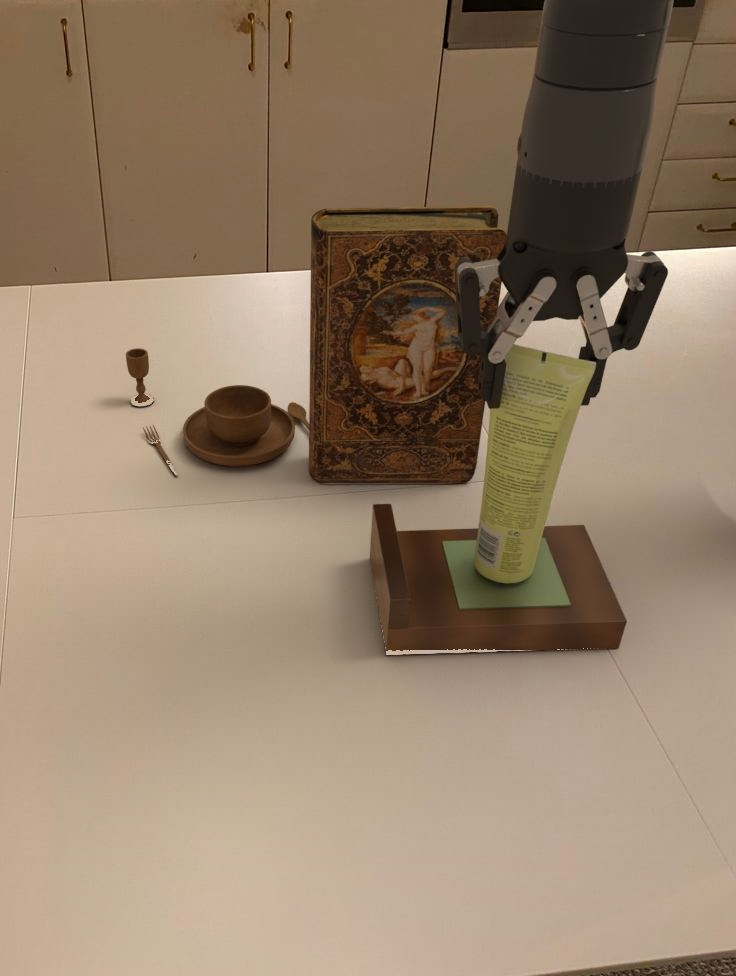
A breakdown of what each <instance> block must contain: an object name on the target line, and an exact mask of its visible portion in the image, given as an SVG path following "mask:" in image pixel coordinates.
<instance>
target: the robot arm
mask: <svg viewBox="0 0 736 976" xmlns="http://www.w3.org/2000/svg"><path fill="white" fill-rule="evenodd" d="M674 2H675V1H674V0H544V2H543V7H542V12H541V13H542V15H541V21H540V27H539V33H538V40H537V41H538V42H537V48H536V55H535V62H534V69H533V75H532V80H531V85H530V89H529V93H528V95H527V96H528V97H527V100H526V104H525V107H524V112H523V116H522V117H523V118H522V123H521V130H520V133H519V136H518V139H517V146H516V151H517V158H516V159H517V160H516V166H515V175H514V180H513V187H512V195H511V202H510V209H509V215H508V223H507V231H506V235H507V238H506V241H505V244H504V246H503V248H502V249H501V251H500V252H499V254H498V255H497V258H496V259H492V260H487V261H481V262H476V263H472V262H471V260H470V259H468V258H461V259H459V260H458V261H457V262H456V264H455V288H456V308H457V328H458V336H459V339H460V342H461V345H462V347H463V350H464V352H465V354H467V355H469V356H473V355H478V356H481V364H480V371H479V379H478V389H479V392H480V395H481V397H482V400H483V401H485V403H486V405H487V407H488V409H489V410H490V409H495V408H500V403H501V397H502V390H503V384H504V377H505V371H506V361H505V359H504V358H505V357H506V355H507V354H508V352H509V351H510V349H511V347H512V346H513V344H515V343H516V342H517V340H518V339H520V338H522V337H523V336H524V334H525V333H526V331H527V330H528V328H529V327H530V325H531V324H532V323H533V322H545V321H548V320H552V319H556V318H557V319H561V320H567V321H575V320H577V321H578V320H579V321H580V325H581V327H582V331H583V335H584V338H585V341H586V342H585V346H580V349H579V354H578V358H577V359H581V360H587V361H592V362H596V367H595V372H594V374H593V376H592V378H591V380H590V383H589V385H588V387H587V390H586V392H585V395H584V398H583V400H582V403H581V406H589V405H590V403H591V399H593V398H596V397H597V396H598V394H599V393H600V391H601V387H602V382H603V378H604V373H605V370H606V366H607V365H606V364H607V361H608V359H609V357H611V355H612V354H613V353H615V352H618V351H621V350H626V351H633V350H635V349H636V348H638V347H639V345H640V343H641V342H642V338H643V336H644V334H645V331H646V329H647V326H648V324H649V321H650V319H651V317H652V314H653V312H654V309H655V307H656V304H657V302H658V300H659V298H660V296H661V295H660V294H661V293H662V290H663V287H664V285H665V283H666V280H667V278H668V275H669V269H668V268H667V266H666V265H665V263H664V262H663V261H662V259H661V258H660V257H659V256H658V255H657V253H656V252H654V251H651V250H648V251H645V252H644V253H642V254H641V255H635V254H630V253H629V254H628V253H627V251H626V240H627V237H628V234H629V230H630V226H631V222H632V216H633V212H634V207H635V203H636V199H637V194H638V189H639V185H640V180H641V175H642V171H643V168H644V167H643V166H644V163H645V157H646V153H647V149H648V145H649V140H650V136H651V131H652V127H653V120H654V112H655V100H656V93H657V83H658V78H659V73H660V68H661V65H662V64H661V63H662V60H663V54H664V49H665V44H666V40H667V35H668V31H669V27H670V22H671V18H672V12H673V8H674ZM624 274H625V276H624V283H625V284H626V286H627V288H626V292H625V294H624V297H623V299H622V301H621V304H620V307H619V310H618V312H617V314H616V317H615V320H614V323H613V324H612V325H609V326H608V324H607V320H606V316H605V312H604V309H603V305H602V301H601V299H602V298H603V297H604V296H605V295H606V294H607V293H608V292H609V290H610V289H611V288H612V287H613V286H614V285H615V284H616V283H617V282H618V281H619V280H620V279H621V278H622V276H623V275H624ZM498 277H499V278H500V279H501V281H502V285H503V286H504V288H505V289H506V294H505V295H504V297H503V298H502V300H501V302H499V306H498V309H497V312H496V316H495V318H494V320H493V322H492V323H491V325H490V326H489V328H488V330H487V331H486V332H484V331H481V327H480V297H483V296H485V295H486V294H487V293H488V291H489V287H490V284H491V282H492V281H493V280H494V279H496V278H498ZM581 406H580V407H581Z"/></svg>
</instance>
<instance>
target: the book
mask: <svg viewBox="0 0 736 976" xmlns="http://www.w3.org/2000/svg"><path fill="white" fill-rule="evenodd" d="M498 224H499V213H498V210H497V208H496V207H495V206H493V205H475V206H474V205H473V206H470V205H469V206H468V205H467V206H466V205H465V206H406V207H405V206H403V207H402V206H399V207H396V206H395V207H394V206H393V207H335V208H333V207H331V208H329V207H328V208H323V209H319V210H318V211H316V212H314V213H313V215H312V216H311V220H310V302H309V303H310V306H309V308H310V309H309V311H310V312H309V314H310V316H309V319H310V320H309V322H310V323H309V406H308V407H309V408H308V410H309V413H308V414H309V416H308V417H309V418H308V423H309V430H308V432H309V433H308V474H309V476H310V478H311V479H312V480H313V481H314V482H315V483H316V484H319V485H443V484H444V485H445V484H446V485H447V484H466V483H469V482H470V481H472V479H473V477H474V475H475V472H476V469H477V465H478V464H477V463H478V457H479V450H480V444H481V435H482V429H483V421H484V414H485V408H486V401H483V400H482V397H481V395H480V392H479V389H478V379H479V371H480V364H481V356H478V355H473V356H469V355H467V354H465V352H464V350H463V347H462V345H461V342H460V339H459V336H458V328H457V308H456V288H455V264H456V262H457V261H458V260H459V259H461V258H468V259H470V260H471V262H472V263H476V262H481V261H487V260H492V259H496V258H497V255H498V254H499V252H500V251H501V249H502V248H503V246H504V244H505V241H506V238H507V231H506V230H505V229H504V228H502V227H498V226H499V225H498ZM502 285H503V283H502V281H501V279H500V278H499V277H498V278H496V279H494V280H493V281H492V282H491V284H490V287H489V291H488V293H487V294H486V295H485V296H483V297H480V327H481V331H484V332H486V331H487V330H488V328H489V326H490V325H491V323H492V322H493V320H494V318H495V316H496V312H497V309H498V307H499V305H500V297H501V290H502Z"/></svg>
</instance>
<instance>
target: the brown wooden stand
mask: <svg viewBox="0 0 736 976" xmlns="http://www.w3.org/2000/svg"><path fill="white" fill-rule="evenodd" d="M371 515H372V516H371V527H370V528H371V529H370V531H371V532H370V543H369V564H370V570H371V575H372V581H374V582H373V587H374V586H375V588H374V592H375V591H376V594H375V598H376V597H377V600H376V604H377V603H378V606H377V610H378V609H379V612H378V615H379V614H380V618H379V621H380V620H381V624H380V626H381V625H382V630H383V636H384V641H385V647H386V651H388V650H392V651H396V650H400V651H403V650H409V651H410V650H447V649H448V650H453V649H455V650H458V649H461V650H463V649H467V650H469V649H470V650H474V649H475V650H479V649H481V650H484V649H487V650H493V649H495V650H557V649H560V650H559V651H562V650H561V649H564V650H563V651H566V650H565V649H568V650H567V651H570V650H569V649H572V650H571V651H574V650H573V649H583V648H584V649H587V648H588V650H607V649H606V648H609V649H608V650H612V649H611V648H618V649H620V645H621V642H622V638H623V636H624V632H625V629H626V625H627V623H628V622H627V621H628V620H627V619H626V616H625V613H624V611H623V609H622V607H621V605H620V603H619V601H618V598H617V596H616V593H615V591H614V589H613V587H612V584H611V582H610V580H609V578H608V575H607V573H606V571H605V568H604V567H603V566H604V565H603V564H602V562H601V560H600V557H599V555H598V553H597V550H596V548H595V547H594V544H593V542H592V540H591V537H590V535H589V532H588V529H586V528H587V527H586V526H585V524H569V525H567V524H566V525H565V524H564V525H545V527H544V531H543V534H542V538H541V542H540V546H539V550H538V554H537V558H536V562H535V566H534V570H533V572H532V574H531V575H530V577H528V578H527V579H525V580H524V581H521V582H517V583H501V582H496V581H493V580H490V579H488V578H486V577H484V576H483V575H481V574H480V573H479V572H478V570H477V569H476V567H475V564H474V559H475V551H476V543H477V536H478V528H479V527H475V528H474V527H473V528H448V529H445V528H444V529H420V530H419V529H417V530H416V529H415V530H413V529H412V530H397V525H396V521H395V516H394V511H393V507H392V503H373V504H372V514H371ZM590 648H591V649H590ZM594 648H595V649H594ZM597 648H599V649H597ZM601 648H602V649H601ZM604 648H605V649H604ZM557 651H558V650H557Z"/></svg>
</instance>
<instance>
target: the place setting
mask: <svg viewBox="0 0 736 976" xmlns="http://www.w3.org/2000/svg"><path fill="white" fill-rule="evenodd" d="M125 361H126V367H127V371H128V374H129V375H130V377H132V378H133V379H135V381H136V388H135V390H136V392H137V395H138V394H139V395H138V396H137V397H136V398H135V401H138V403H142V402H146V401H147V400H149V399H150V398H149V397H148V396H146V395H145V394H146V393H145V392H146V390H147V389H146V386H145V383H144V381H145V380H144V378H146V377H147V376H148V374H149V371H150V361H149V353H148V350H147V349H144V348H136V347H135V348H131V349H129V350H127V351H126V352H125ZM203 404H204V406H203V407H201V408H199V409H197V410H195V411H194V412H193V413H192V414H191V415H189V416H188V417H187V418H186V420H185V421H184V423H183V426H182V436H183V441H184V443H185V445H186V446H187V448H188V449H189V450H190V451H191V452H192V453H193V454H194V455H195V456H197V457H199V459H202V460H204V461H206V462H209V463H211V464H216V465H220V466H228V467H246V466H253V465H258V464H261V463H265V462H268V461H270V460H273V459H274V458H277V457H278V456H280V455H281V454H282V453H284V452H285V451H286V450H287V449H288V448H289V447H290V445H292V442H293V440H294V437H295V433H296V423H295V420H297V421H301V422H302V423H303V424H304V426H305V427H306V428H307V430H308V431H309V420H307V411H306V409H305V408H304V406H303V405H300V404H298V403H296V402H293V401H291V402H289V403H288V405H287V411H286V410H285V409H284V408H281V407H280V406H278V405H276V404H273V403H272V398H271V396H270V395H269V394H268V393H267V392H266V391H264V390H263V389H261V388H259V387H256V386H253V385H247V384H246V385H245V384H236V385H235V384H233V385H227V386H223V387H220V388H218V389H214V390H213V391H212V392H210V393H209V394H208V395H207V396H206V397H205V399H204V403H203ZM294 419H295V420H294ZM145 428H146V429H145ZM142 429H143V432H144V434H145V437H146V439H147V441H148V440H151V439H152V440H154V441H155V440H159V439H161V437H160V435H159V433H158V431H157V429H156V426H155V425H154V424H152V427H151V425H149V427H147V425H146V427H144V426H142ZM149 429H150V430H149ZM154 432H155V433H154ZM151 433H152V434H151ZM155 434H156V435H155ZM148 435H149V436H148ZM159 437H160V438H159ZM158 438H159V439H158ZM152 440H151V441H152ZM154 441H153V442H154ZM157 442H158V443H153V444H155V445H154V446H155V447H156V448H157V450H158V452H159V453H160V455H161V457H162V458H163V457H164V459H165V460H164V459H163V460H164V462H165V461H167V460H168V461H171V459H170V458H169V457H168V455H167V453H166V452H165V449H164V448H163V447H162V444H161V442H160V441H157ZM168 463H172V461H171V462H168ZM168 465H170V464H168Z"/></svg>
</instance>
